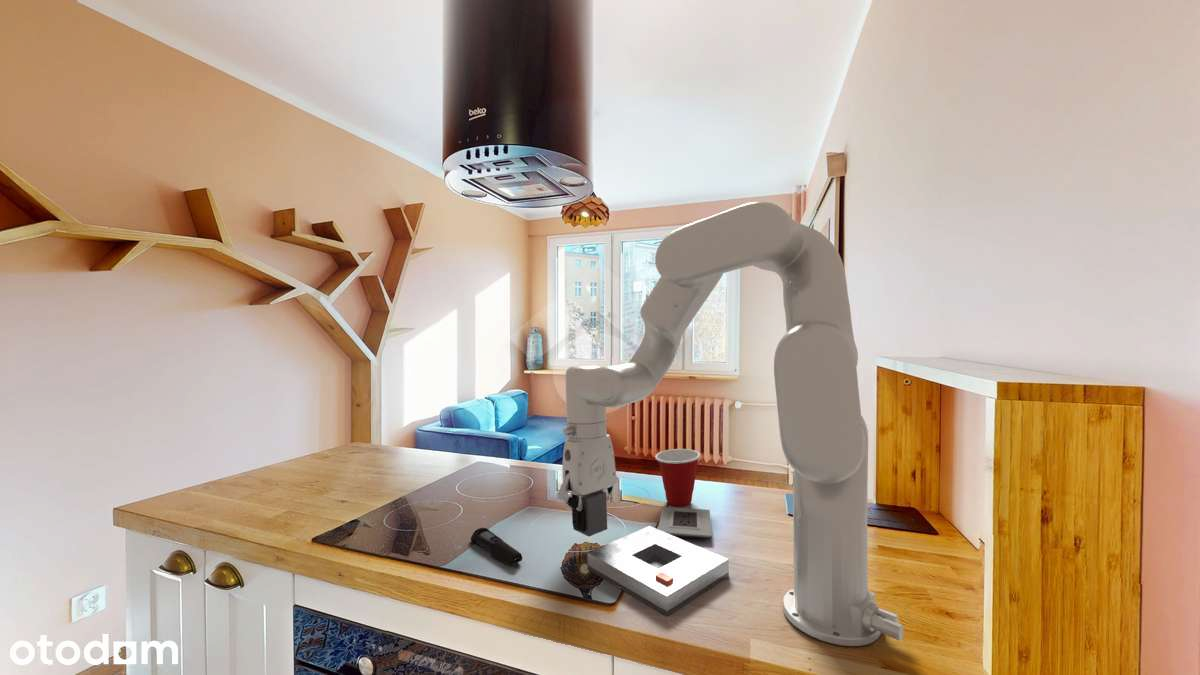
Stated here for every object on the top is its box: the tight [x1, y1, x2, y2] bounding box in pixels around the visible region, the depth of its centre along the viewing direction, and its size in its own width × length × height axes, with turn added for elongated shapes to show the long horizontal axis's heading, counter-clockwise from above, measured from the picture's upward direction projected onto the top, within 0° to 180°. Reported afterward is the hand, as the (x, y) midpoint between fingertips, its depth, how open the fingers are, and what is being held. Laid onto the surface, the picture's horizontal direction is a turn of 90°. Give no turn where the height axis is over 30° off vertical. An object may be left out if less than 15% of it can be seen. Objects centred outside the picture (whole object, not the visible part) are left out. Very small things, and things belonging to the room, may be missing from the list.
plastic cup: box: [654, 448, 701, 508], centre depth 110 cm, size 11×11×12 cm
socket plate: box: [587, 525, 730, 617], centre depth 78 cm, size 18×16×4 cm
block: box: [572, 491, 608, 537], centre depth 87 cm, size 5×5×7 cm
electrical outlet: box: [657, 506, 713, 540], centre depth 96 cm, size 13×10×2 cm
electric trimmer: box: [470, 527, 523, 566], centre depth 87 cm, size 4×16×3 cm, turn 42°
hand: (590, 524), depth 87 cm, fingers closed on block, 4 cm apart
